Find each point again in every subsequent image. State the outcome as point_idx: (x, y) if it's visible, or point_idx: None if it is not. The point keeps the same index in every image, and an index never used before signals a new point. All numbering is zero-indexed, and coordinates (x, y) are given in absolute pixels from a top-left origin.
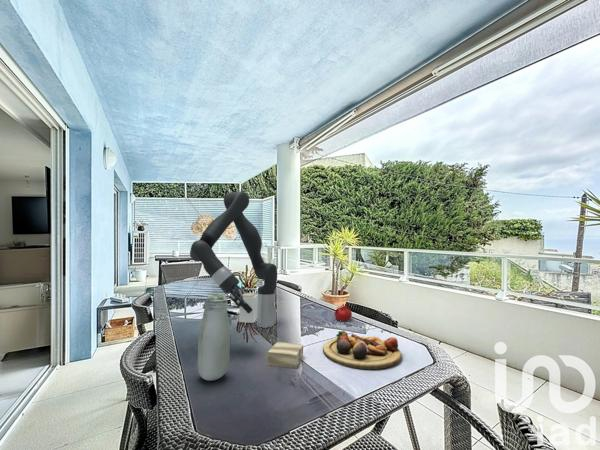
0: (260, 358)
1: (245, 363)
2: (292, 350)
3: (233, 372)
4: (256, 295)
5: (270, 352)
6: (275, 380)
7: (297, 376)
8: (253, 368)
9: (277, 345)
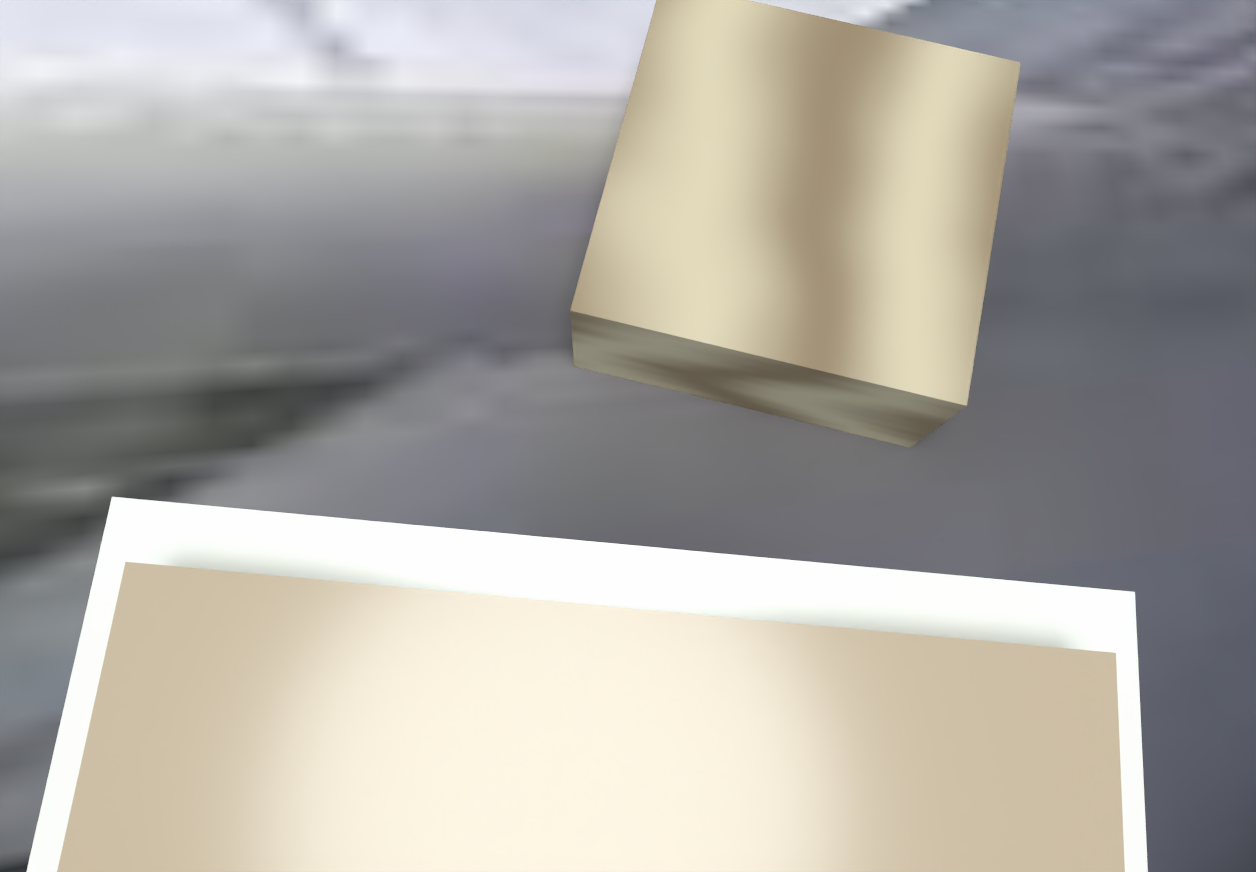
0: (745, 554)
1: None
2: (871, 105)
3: (1170, 827)
4: (482, 541)
5: (970, 372)
6: (1252, 335)
7: (1130, 136)
8: None
9: (716, 297)
